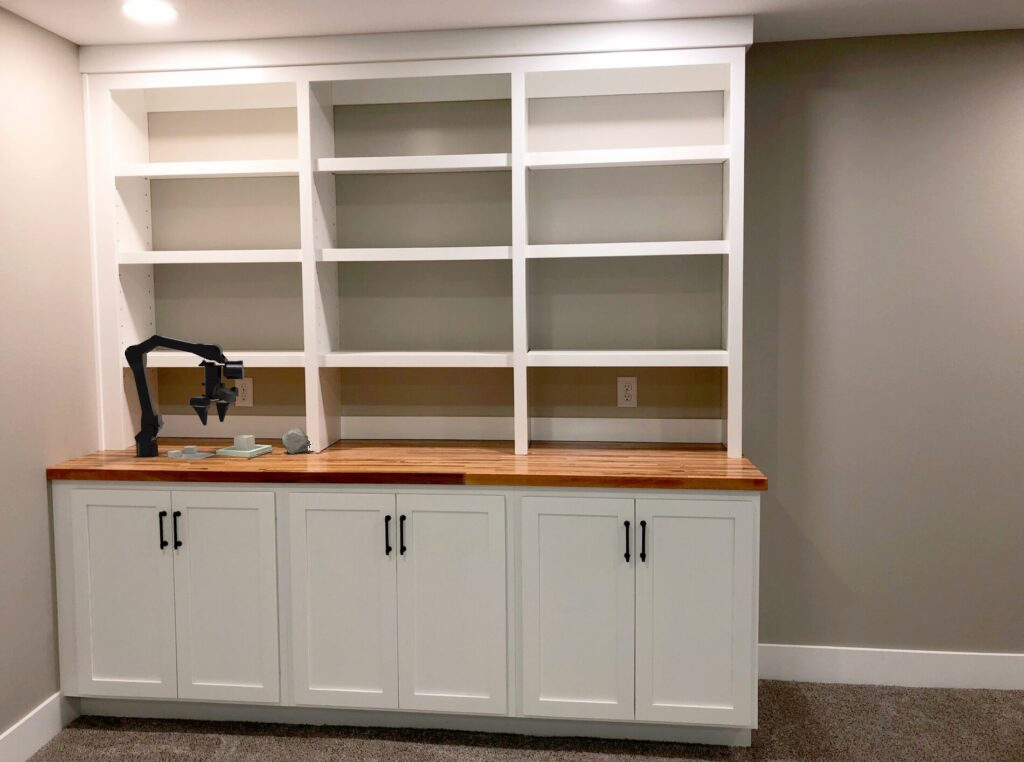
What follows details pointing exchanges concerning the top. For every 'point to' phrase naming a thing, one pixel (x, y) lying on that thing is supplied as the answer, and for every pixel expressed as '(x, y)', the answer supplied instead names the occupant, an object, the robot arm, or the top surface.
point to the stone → (296, 441)
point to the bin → (257, 450)
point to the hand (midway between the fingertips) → (213, 423)
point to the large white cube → (244, 443)
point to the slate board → (188, 453)
